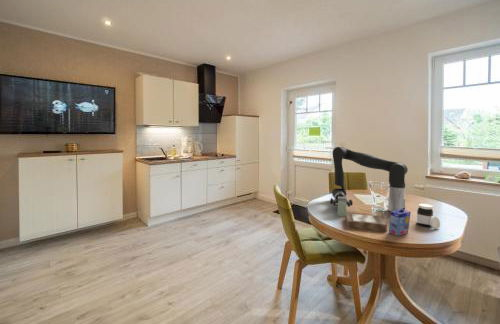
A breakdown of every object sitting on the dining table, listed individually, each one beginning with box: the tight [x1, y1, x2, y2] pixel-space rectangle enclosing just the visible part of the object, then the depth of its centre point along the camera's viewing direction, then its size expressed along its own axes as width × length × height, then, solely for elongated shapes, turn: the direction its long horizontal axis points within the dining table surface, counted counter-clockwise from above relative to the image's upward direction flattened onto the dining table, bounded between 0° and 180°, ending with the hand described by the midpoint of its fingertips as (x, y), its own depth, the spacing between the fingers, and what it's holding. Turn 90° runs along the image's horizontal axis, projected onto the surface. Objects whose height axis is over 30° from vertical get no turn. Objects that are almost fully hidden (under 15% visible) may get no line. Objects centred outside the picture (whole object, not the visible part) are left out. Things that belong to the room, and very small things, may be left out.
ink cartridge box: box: [388, 206, 411, 237], centre depth 135 cm, size 10×6×14 cm, turn 117°
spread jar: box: [416, 203, 441, 230], centre depth 146 cm, size 12×11×12 cm
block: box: [336, 196, 348, 217], centre depth 164 cm, size 5×4×12 cm
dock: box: [345, 212, 388, 232], centre depth 147 cm, size 20×14×4 cm
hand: (341, 204), depth 165 cm, fingers open, 8 cm apart
